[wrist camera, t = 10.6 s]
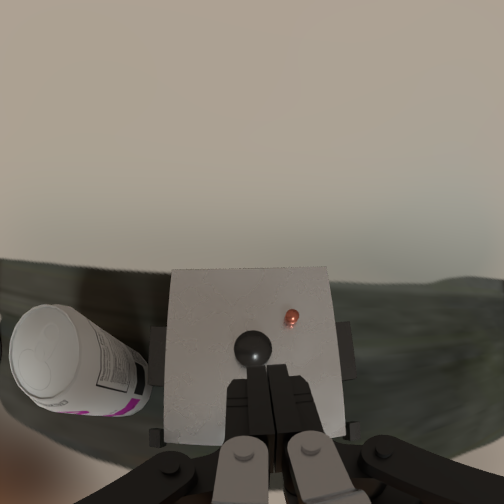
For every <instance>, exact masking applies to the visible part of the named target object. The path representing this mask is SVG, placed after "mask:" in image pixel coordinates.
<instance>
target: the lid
mask: <svg viewBox="0 0 504 504" xmlns="http://www.w3.org/2000/svg"><path fill="white" fill-rule="evenodd" d="M273 364H286V366H287V370H288V374H289V376H296V375H301V376H302V377H303V378H304V379H305V380H306V381H307V382H308V383H309V386H310V390H311V394H312V396H313V399H314V402H315V405H316V408H317V411H318V414H319V417H320V421H321V424H322V427H323V430H324V432H325V434H326V435H328V436H329V437H330V438H333V437H340V436H345V435H346V428H345V413H344V400H343V389H342V378H341V368H340V359H339V350H338V342H337V334H336V326H335V319H334V312H333V305H332V298H331V292H330V285H329V279H328V273H327V267H326V266H325V267H295V268H294V267H293V268H292V267H291V268H251V269H249V268H248V269H195V270H194V269H186V270H172V274H171V284H170V295H169V306H168V319H167V334H166V353H165V378H164V442H168V443H179V444H193V445H218V446H222V444H223V442H224V439H225V419H226V396H227V387H228V386H229V384H230V383H231V381H232V380H233V379H247V369H246V366H256V365H265V366H267V365H273Z"/></svg>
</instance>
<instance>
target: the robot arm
mask: <svg viewBox="0 0 504 504" xmlns="http://www.w3.org/2000/svg"><path fill="white" fill-rule="evenodd" d="M0 358H1V343H0ZM246 369H247V379H233V380H232V381H231V383H230V384H229V386H228V387H227V396H226V419H225V439H224V442H223V444H222V446H221V447H220V448H219V449H218V450H217V451H215V452H214V453H212V454H210V455H207V456H203V457H198V458H193V459H190V458H189V457H188V456H187V455H185V454H183V453H180V452H176V451H166V452H162V453H159V454H157V455H155V456H153V457H152V458H150V459H149V460H147V461H146V462H144V463H143V464H141V465H140V466H138V467H137V468H135V469H133V470H132V471H130V472H129V473H127V474H126V475H124V476H122V477H120V478H119V479H117V480H115V481H114V482H112V483H110V484H109V485H107V486H105V487H103V488H102V489H100V490H98V491H96V492H95V493H93V494H91V495H89V496H87V497H85V498H83V499H82V500H80V501H78V502H76V503H74V504H268V490H269V485H270V473H273V467H275V473H278V472H282V474H283V481H284V484H283V492H284V496H285V500H286V504H504V477H503V476H500V475H496V474H493V473H489V472H486V471H483V470H479V469H476V468H473V467H470V466H467V465H464V464H461V463H458V462H455V461H453V460H450V459H447V458H444V457H442V456H439V455H436V454H434V453H431V452H429V451H426V450H424V449H421V448H419V447H416V446H414V445H412V444H409V443H407V442H405V441H402V440H400V439H398V438H396V437H393V436H389V435H377V436H374V437H371V438H370V439H368V440H367V441H366V442H365V443H364V444H363V445H348V444H341V443H338V442H335V441H333V440H332V439H331V438H330V437H329V436H328V435H326V434H325V432H324V430H323V427H322V424H321V421H320V417H319V414H318V411H317V408H316V405H315V402H314V399H313V396H312V394H311V390H310V386H309V383H308V382H307V381H306V380H305V379H304V378H303V377H302V376H301V375H296V376H289V374H288V370H287V366H286V364H273V365H267V366H265V365H256V366H246Z"/></svg>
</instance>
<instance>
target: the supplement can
mask: <svg viewBox="0 0 504 504" xmlns="http://www.w3.org/2000/svg"><path fill="white" fill-rule="evenodd" d="M9 360H10V366H11V372H12V374H13V376H14V378H15V380H16V383H17V385H18V386H19V387H20V388H21V389H22V390H23V391H24V392H25V393H26V394H27V395H28V396H29V397H30V398H31V399H32V400H33V401H34V402H35V403H36V404H37V405H38V406H41V407H43V408H45V409H48V410H50V411H54V412H62V413H71V414H82V415H96V416H118V417H121V416H128V415H133V414H134V413H136V412H138V411H139V410H141V409H142V408H143V407H144V405H145V404H146V403H147V401H148V400H149V398H150V394H151V391H152V387H153V386H150V385H147V382H148V364H147V362H146V361H145V360H144V358H143V357H142V356H141V355H140V354H139V353H138V352H136V351H135V350H133V349H132V348H130V347H128V346H127V345H125V344H124V343H122V342H121V341H119V340H118V339H116V338H115V337H113V336H112V335H110V334H109V333H107V332H106V331H104V330H103V329H101V328H100V327H98V326H97V325H96V324H94V323H93V322H91V321H90V320H89V319H87V318H86V317H84V316H83V315H82V314H80V313H79V312H77V311H76V310H74V309H73V308H72V307H70V306H64V305H58V304H55V305H46V304H44V305H40V306H36V307H33V308H32V309H31V310H29V311H28V312H27V313H25V314H24V315H23V316H22V317H21V319H20V320H19V322H18V323H17V325H16V326H15V328H14V331H13V334H12V337H11V340H10V348H9Z"/></svg>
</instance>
